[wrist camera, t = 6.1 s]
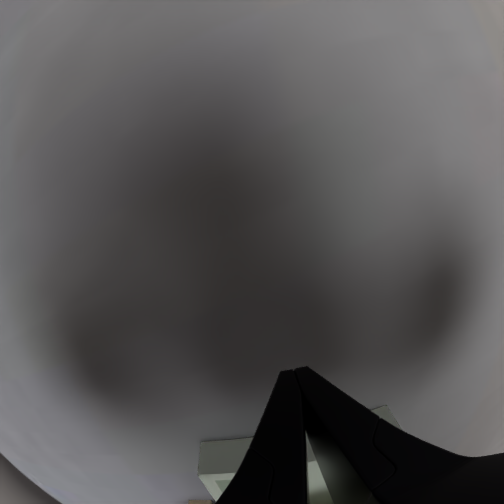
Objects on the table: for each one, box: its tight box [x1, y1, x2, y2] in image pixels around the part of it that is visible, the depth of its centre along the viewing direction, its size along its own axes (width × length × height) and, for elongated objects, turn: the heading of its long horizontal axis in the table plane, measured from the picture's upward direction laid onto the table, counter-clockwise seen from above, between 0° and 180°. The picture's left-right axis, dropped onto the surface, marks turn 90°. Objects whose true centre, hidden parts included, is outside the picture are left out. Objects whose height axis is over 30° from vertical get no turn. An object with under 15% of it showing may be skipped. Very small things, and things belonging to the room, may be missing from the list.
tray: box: [197, 405, 401, 504], centre depth 12 cm, size 12×9×2 cm
